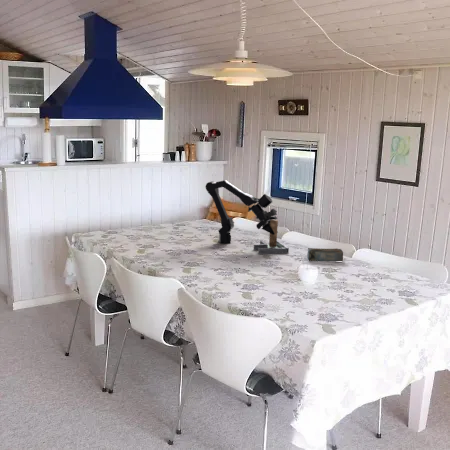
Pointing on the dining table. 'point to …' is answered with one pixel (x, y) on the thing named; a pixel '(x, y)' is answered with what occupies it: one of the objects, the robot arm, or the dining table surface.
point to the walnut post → (274, 227)
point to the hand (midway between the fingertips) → (275, 233)
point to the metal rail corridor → (264, 248)
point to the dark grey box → (324, 254)
